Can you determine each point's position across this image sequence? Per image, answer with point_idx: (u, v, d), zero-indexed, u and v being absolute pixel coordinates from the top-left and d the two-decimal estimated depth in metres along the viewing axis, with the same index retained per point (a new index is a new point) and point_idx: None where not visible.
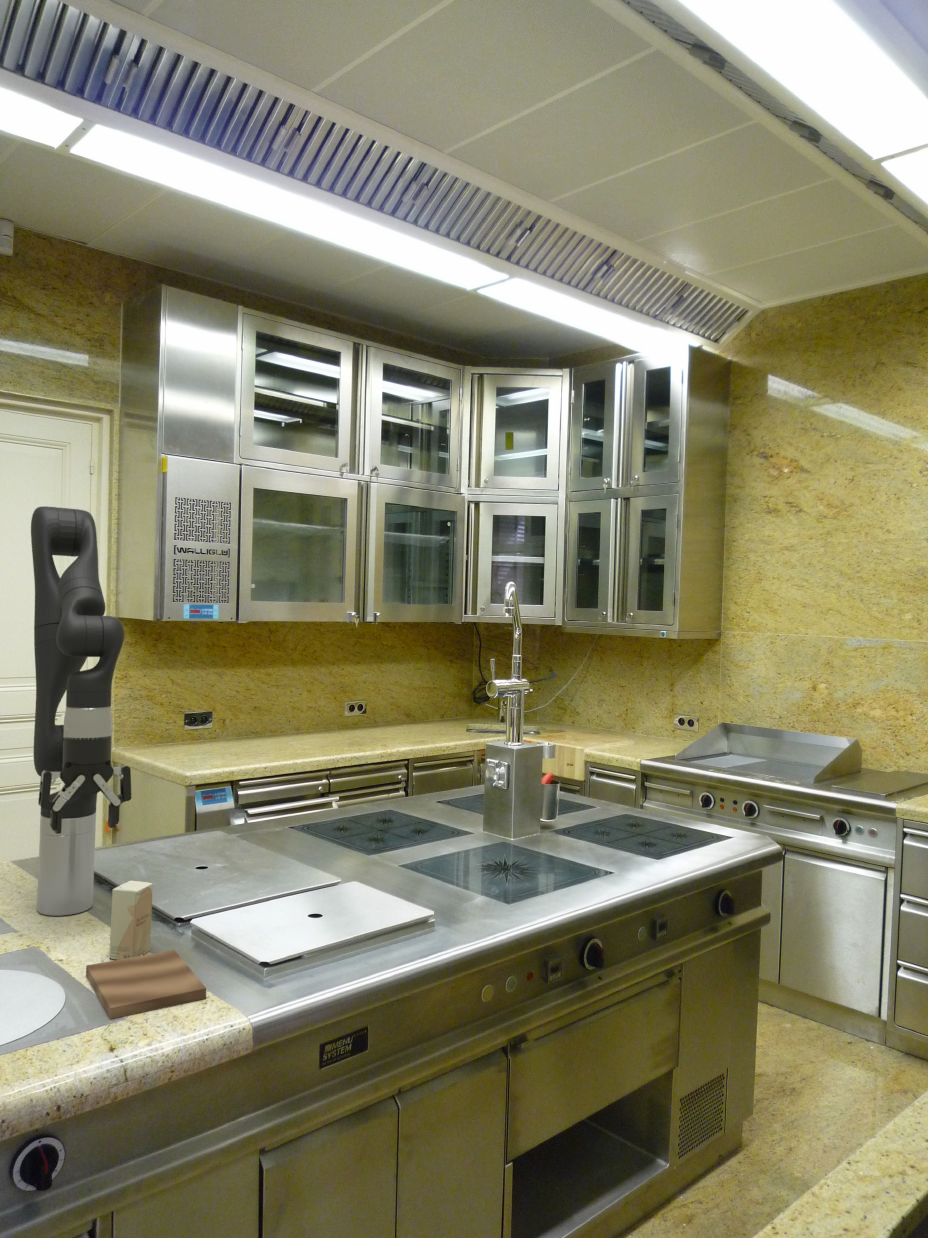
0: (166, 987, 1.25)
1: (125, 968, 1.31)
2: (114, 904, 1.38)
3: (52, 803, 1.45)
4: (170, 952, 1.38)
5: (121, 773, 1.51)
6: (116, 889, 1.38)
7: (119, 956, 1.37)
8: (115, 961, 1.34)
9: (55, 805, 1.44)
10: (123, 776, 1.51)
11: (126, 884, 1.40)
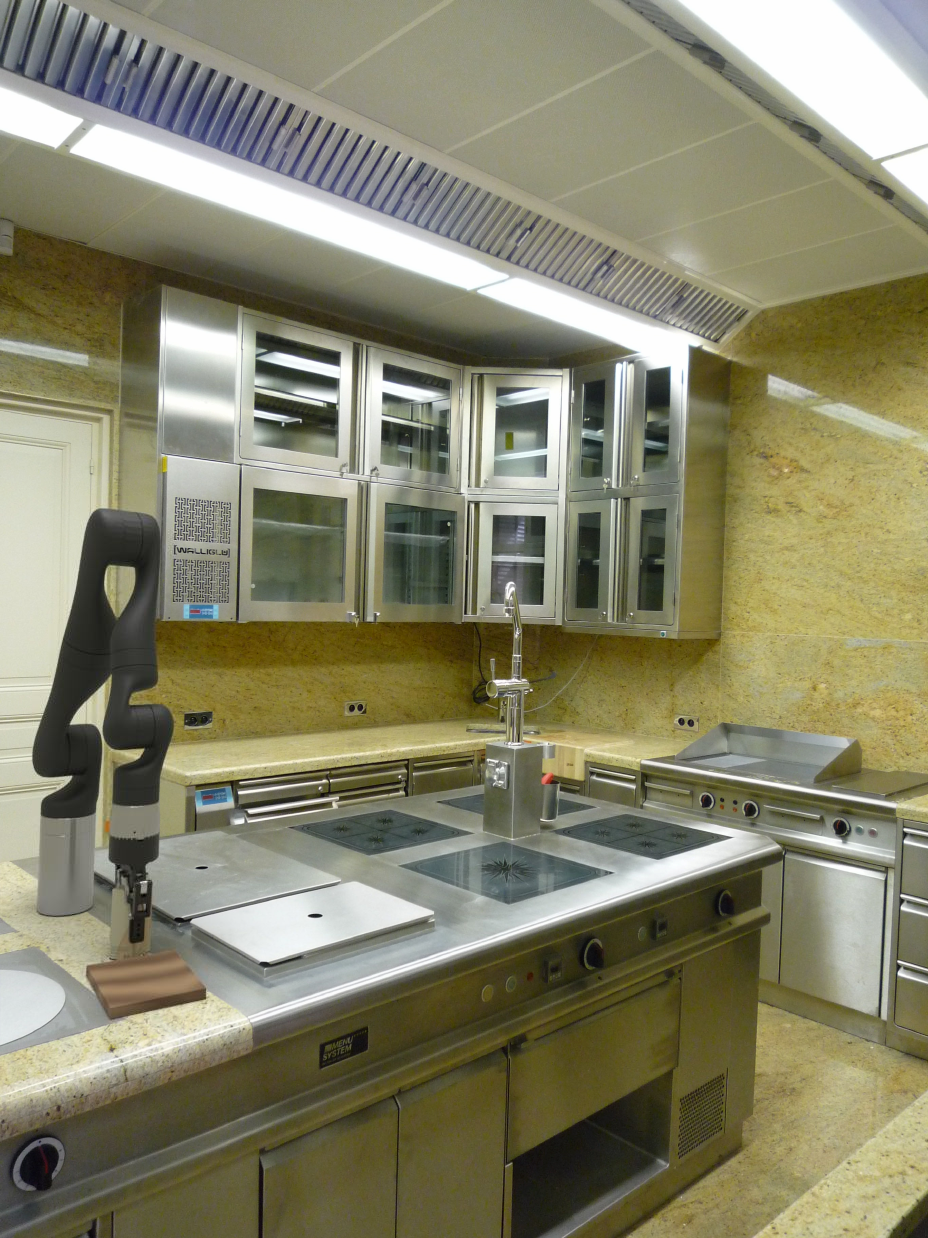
0: (166, 987, 1.25)
1: (125, 968, 1.31)
2: (114, 904, 1.38)
3: None
4: (170, 952, 1.38)
5: None
6: (116, 889, 1.38)
7: (119, 956, 1.37)
8: (115, 961, 1.34)
9: None
10: None
11: None
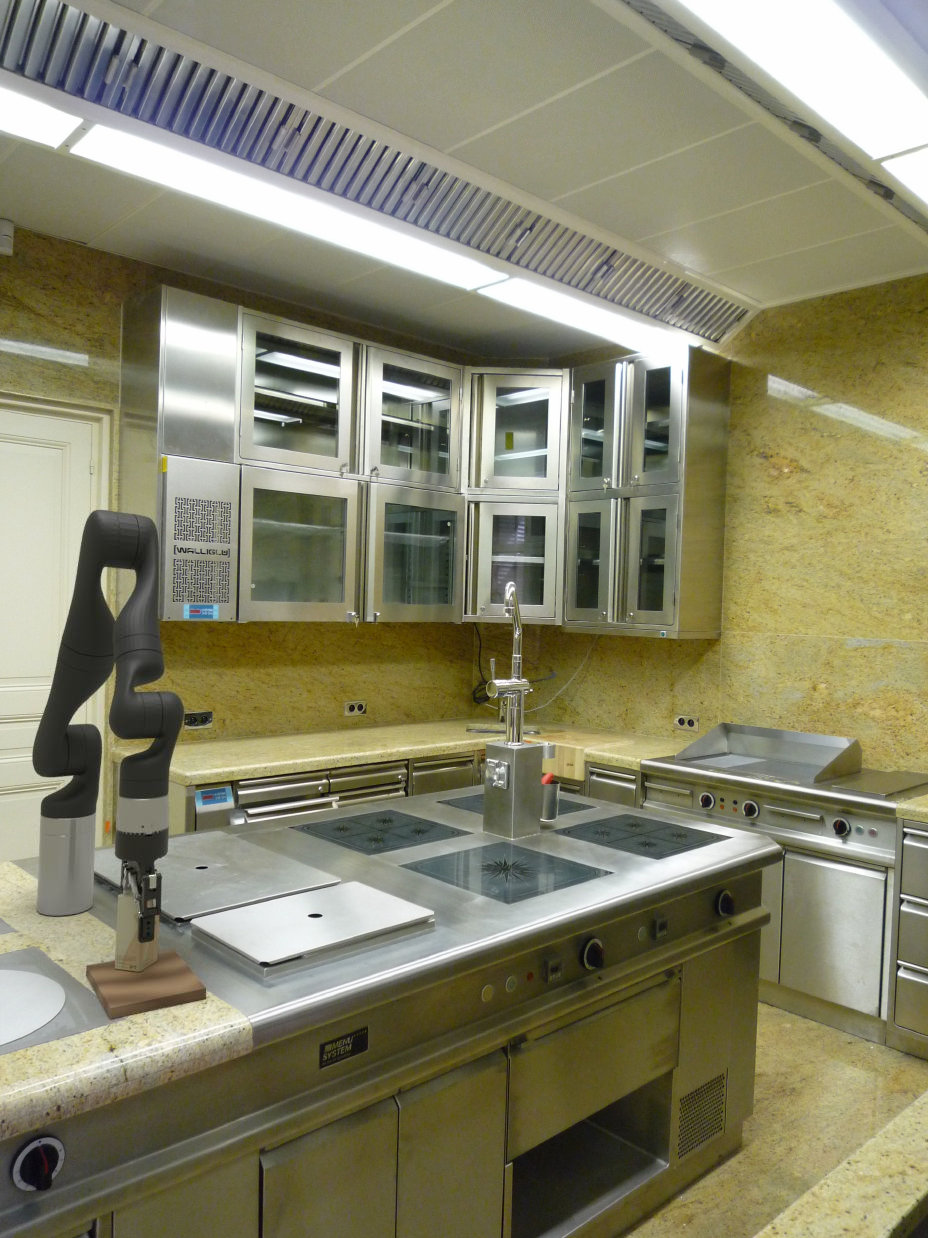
0: (166, 987, 1.25)
1: None
2: (120, 911, 1.30)
3: None
4: (170, 952, 1.38)
5: None
6: (122, 895, 1.31)
7: (125, 966, 1.30)
8: None
9: None
10: None
11: None
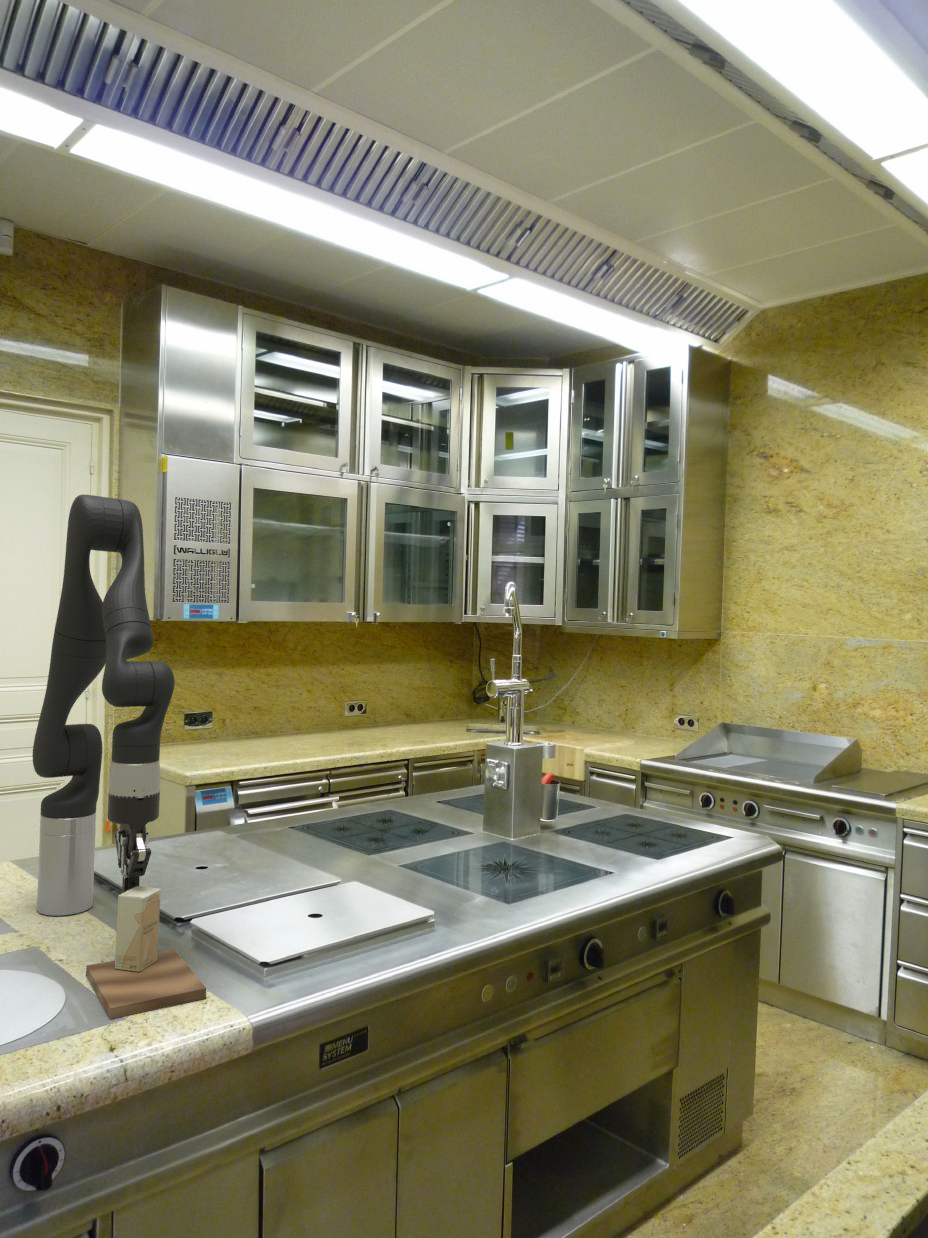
0: (166, 987, 1.25)
1: None
2: (120, 911, 1.30)
3: None
4: (170, 952, 1.38)
5: None
6: (122, 895, 1.31)
7: (125, 966, 1.30)
8: None
9: None
10: None
11: (133, 890, 1.33)
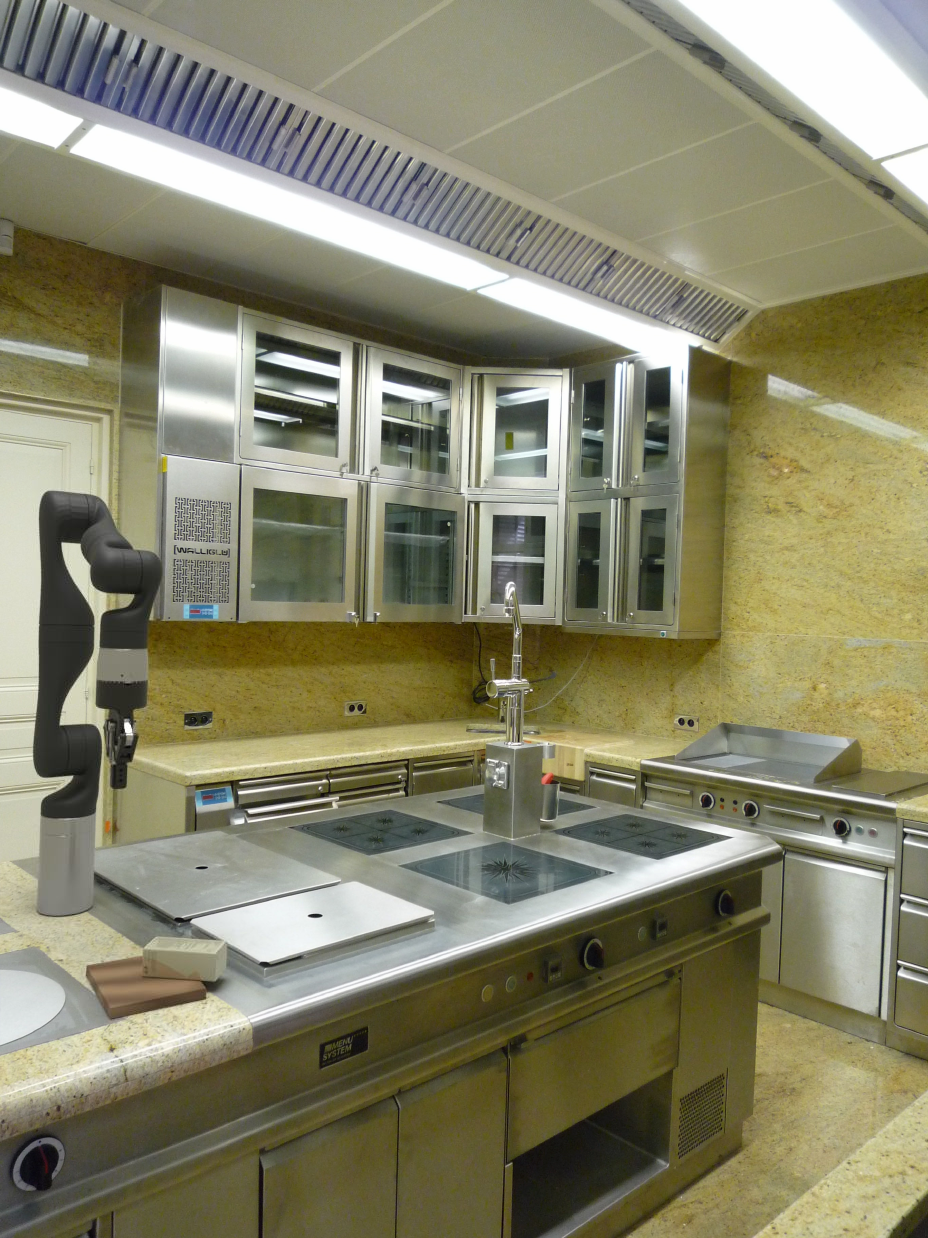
0: (166, 987, 1.25)
1: (125, 968, 1.31)
2: (199, 956, 1.28)
3: None
4: None
5: None
6: (215, 958, 1.28)
7: (146, 961, 1.28)
8: (115, 961, 1.34)
9: None
10: None
11: (222, 953, 1.30)
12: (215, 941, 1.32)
